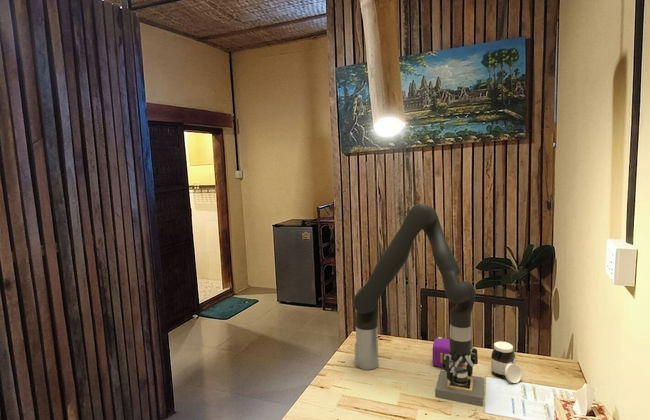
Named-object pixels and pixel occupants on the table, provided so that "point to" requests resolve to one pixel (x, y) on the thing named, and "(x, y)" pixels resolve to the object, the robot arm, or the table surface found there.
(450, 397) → the mount plate
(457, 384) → the lens
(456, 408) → the table surface
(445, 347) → the toy camera
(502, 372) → the spread jar
